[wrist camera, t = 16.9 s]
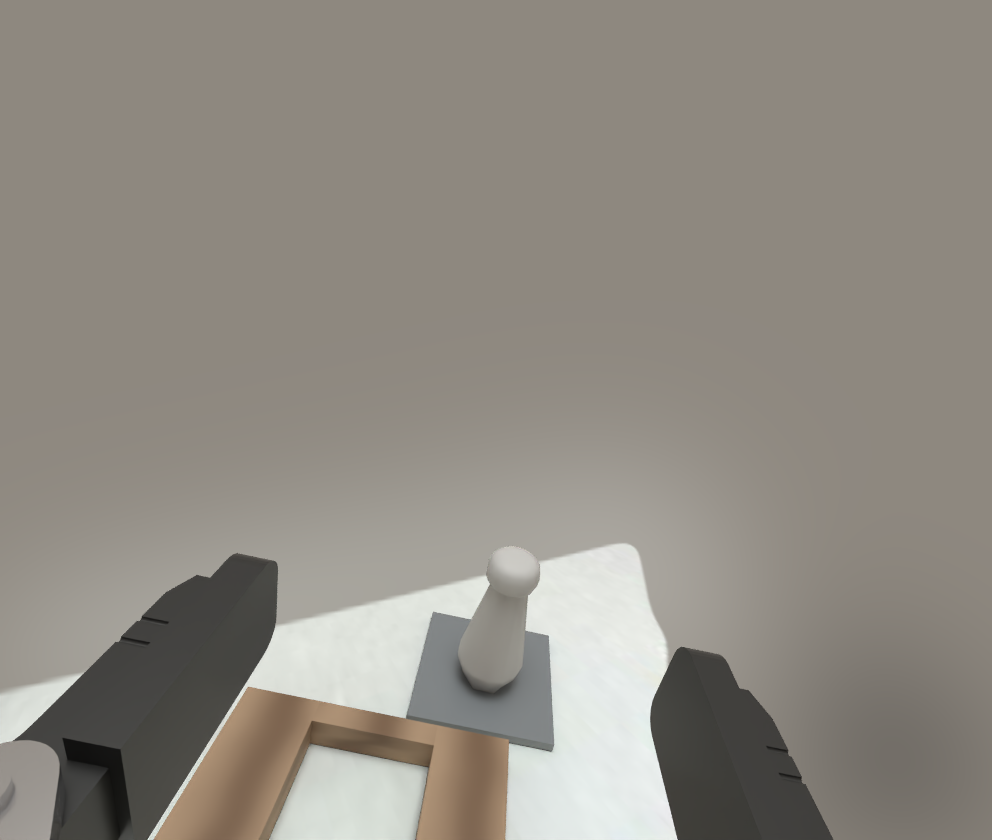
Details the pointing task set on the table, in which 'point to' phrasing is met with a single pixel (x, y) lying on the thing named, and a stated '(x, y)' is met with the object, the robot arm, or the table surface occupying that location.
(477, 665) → the salt shaker
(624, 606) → the table surface
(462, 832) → the walnut stand
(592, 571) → the table surface
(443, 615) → the slate board
